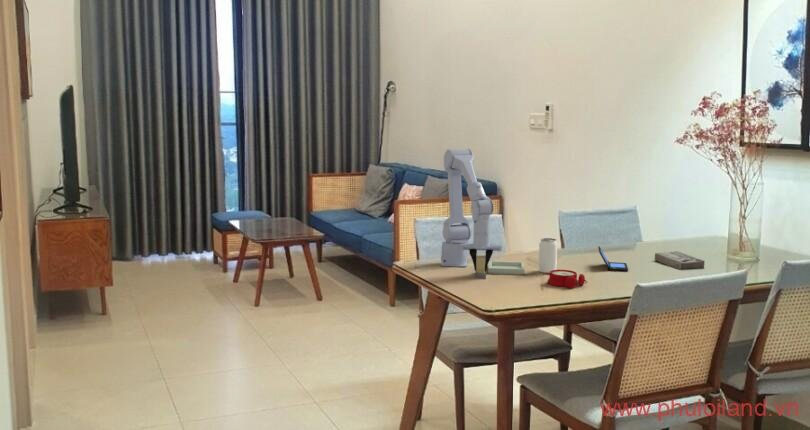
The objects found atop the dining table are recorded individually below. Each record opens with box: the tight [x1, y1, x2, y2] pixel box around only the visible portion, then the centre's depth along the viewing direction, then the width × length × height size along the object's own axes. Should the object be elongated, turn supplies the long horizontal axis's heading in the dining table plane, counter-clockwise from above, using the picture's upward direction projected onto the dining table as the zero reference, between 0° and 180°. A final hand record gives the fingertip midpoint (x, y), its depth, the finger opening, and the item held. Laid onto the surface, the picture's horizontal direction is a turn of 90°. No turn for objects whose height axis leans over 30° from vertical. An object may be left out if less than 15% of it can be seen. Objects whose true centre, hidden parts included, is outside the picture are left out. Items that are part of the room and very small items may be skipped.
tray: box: [487, 260, 525, 276], centre depth 288 cm, size 13×13×2 cm
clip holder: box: [473, 270, 488, 280], centre depth 279 cm, size 4×9×2 cm, turn 172°
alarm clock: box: [542, 269, 588, 289], centre depth 267 cm, size 10×6×15 cm
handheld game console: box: [598, 245, 629, 273], centre depth 293 cm, size 12×11×7 cm
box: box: [654, 250, 706, 271], centre depth 301 cm, size 11×17×3 cm, turn 17°
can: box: [538, 237, 558, 274], centre depth 286 cm, size 6×6×12 cm
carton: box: [475, 254, 486, 274], centre depth 279 cm, size 3×5×7 cm, turn 172°
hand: (480, 270), depth 279 cm, fingers closed on carton, 3 cm apart
